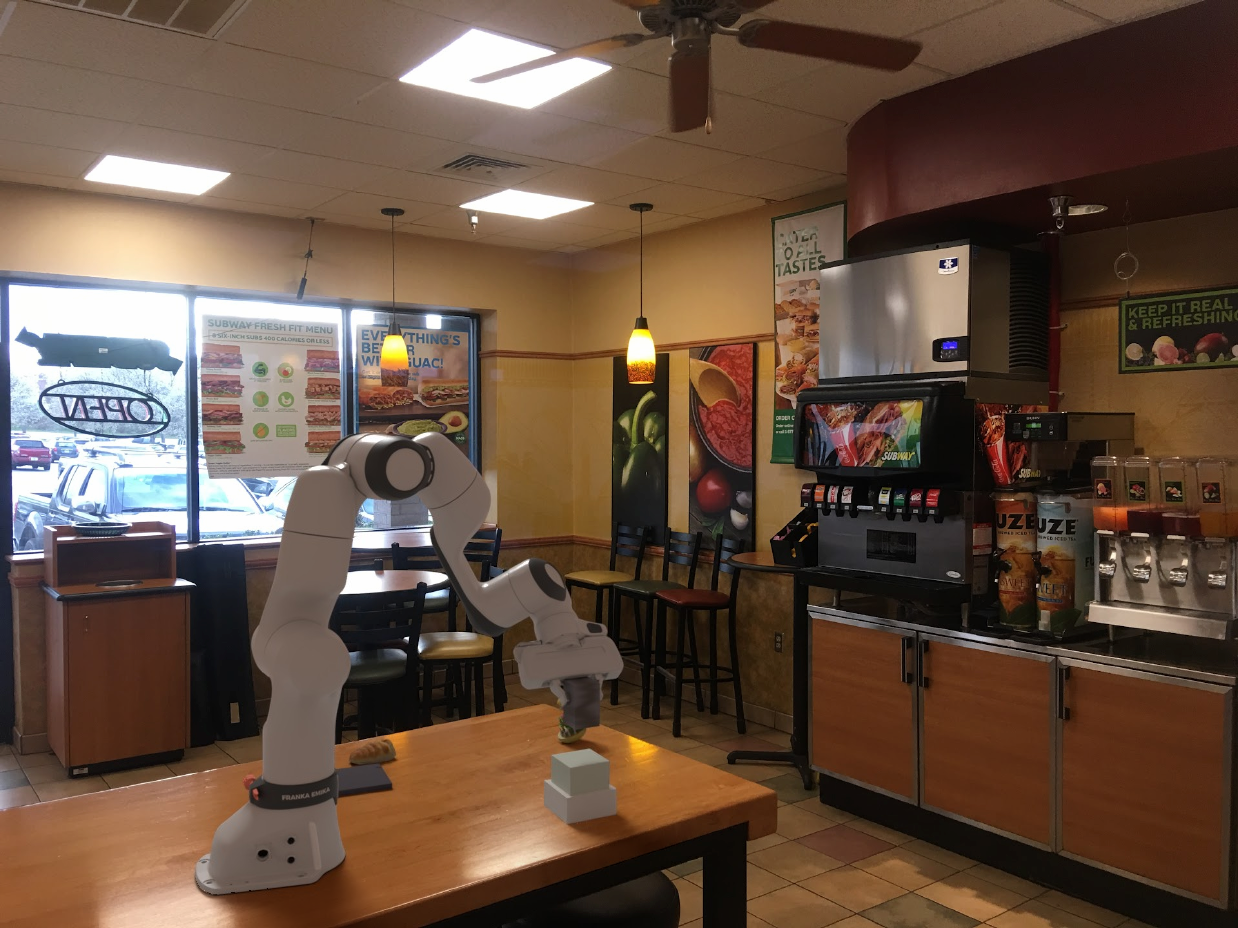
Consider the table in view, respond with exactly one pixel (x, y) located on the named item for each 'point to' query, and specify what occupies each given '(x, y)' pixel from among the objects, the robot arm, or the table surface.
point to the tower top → (580, 771)
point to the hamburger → (568, 730)
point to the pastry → (373, 752)
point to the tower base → (580, 803)
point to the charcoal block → (582, 703)
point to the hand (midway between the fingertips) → (583, 701)
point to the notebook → (362, 779)
